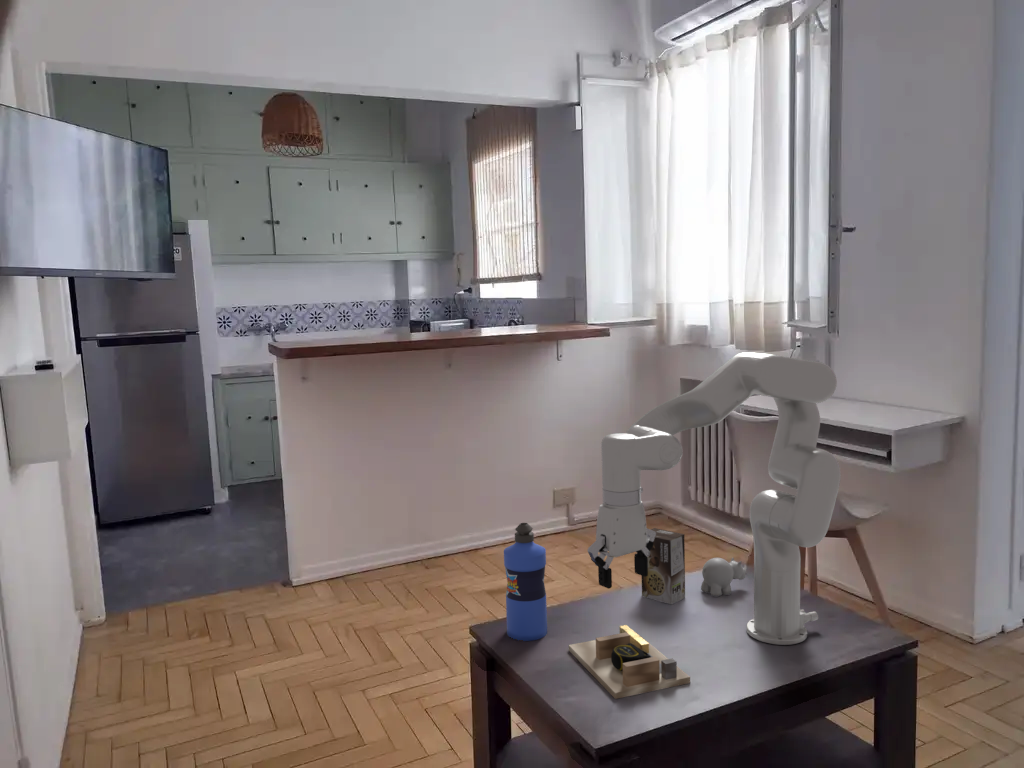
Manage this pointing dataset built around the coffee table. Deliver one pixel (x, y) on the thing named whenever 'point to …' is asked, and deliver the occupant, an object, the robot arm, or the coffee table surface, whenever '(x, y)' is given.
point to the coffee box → (666, 568)
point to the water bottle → (525, 586)
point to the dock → (617, 675)
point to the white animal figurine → (721, 575)
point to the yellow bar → (635, 638)
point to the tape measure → (626, 655)
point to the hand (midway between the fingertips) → (623, 580)
